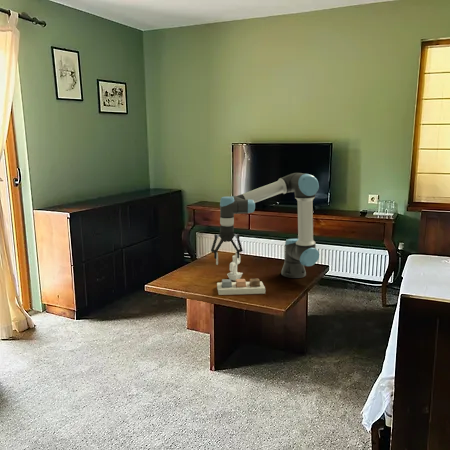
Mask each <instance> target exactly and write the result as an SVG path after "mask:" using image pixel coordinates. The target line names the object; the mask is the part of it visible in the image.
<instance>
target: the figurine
mask: <svg viewBox="0 0 450 450" xmlns="http://www.w3.org/2000/svg"><path fill="white" fill-rule="evenodd" d="M240 263H241V255H240V254H239V258H237V264H236V263H235V254H234V255H232V261H231V262H230V263H229V271H230V272H228V273H226V275H227V277H228V279H231V281H233V282H236V279H242V276H243V274H244V273H243V272H239V271H238V265H239V264H240Z"/></svg>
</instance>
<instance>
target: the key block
mask: <svg viewBox="0 0 450 450" xmlns="http://www.w3.org/2000/svg"><path fill="white" fill-rule="evenodd" d="M231 282H232V287H231V288H222V281H221V282H217V283H216V289H217V293H218V296H219V295H220V296H222V295H223V296H228V295H230V296H231V295H263V294H265V295H266V286H265V285H264V283H263V281H260V287H250V281H246V287H236V281H231Z"/></svg>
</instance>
